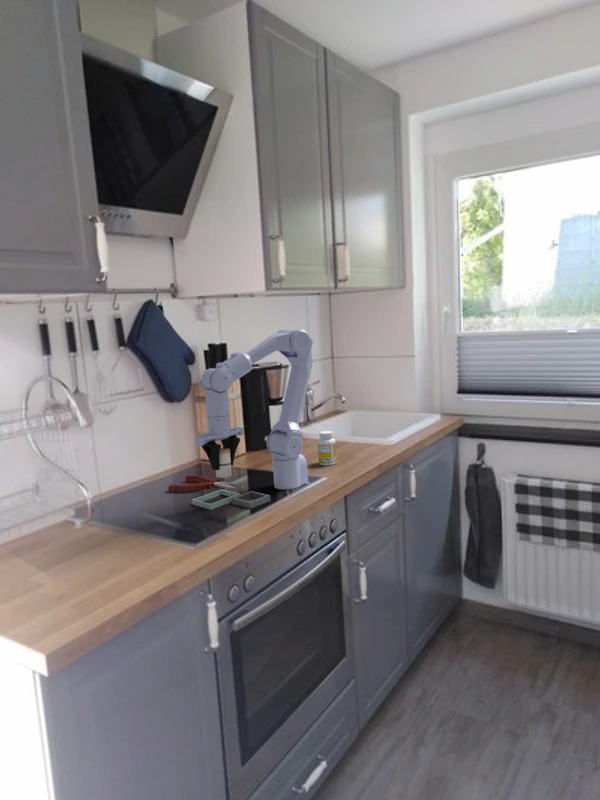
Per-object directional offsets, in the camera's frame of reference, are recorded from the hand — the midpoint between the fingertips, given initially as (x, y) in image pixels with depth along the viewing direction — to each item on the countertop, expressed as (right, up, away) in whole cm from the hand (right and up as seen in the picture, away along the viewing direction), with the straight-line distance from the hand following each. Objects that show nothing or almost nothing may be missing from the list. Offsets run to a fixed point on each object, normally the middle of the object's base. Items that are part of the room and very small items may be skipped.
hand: (222, 467), depth 150 cm
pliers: (-8, -9, +17) cm, 21 cm away
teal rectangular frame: (-2, -10, +2) cm, 10 cm away
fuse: (0, -2, 0) cm, 2 cm away
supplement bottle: (+29, -3, +36) cm, 46 cm away
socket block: (+8, -10, 0) cm, 12 cm away
